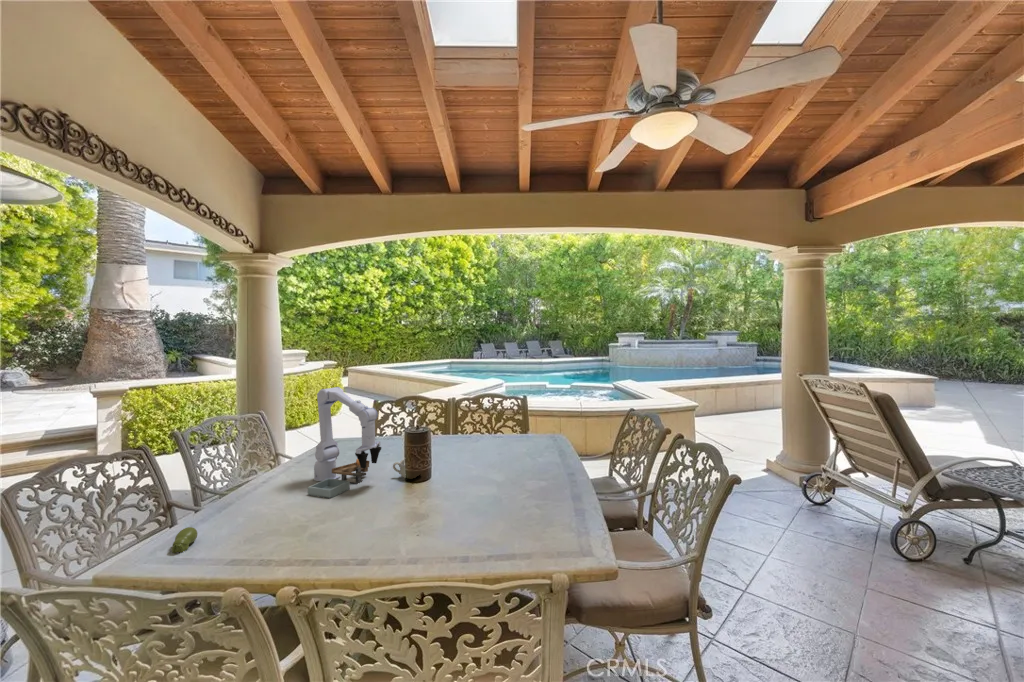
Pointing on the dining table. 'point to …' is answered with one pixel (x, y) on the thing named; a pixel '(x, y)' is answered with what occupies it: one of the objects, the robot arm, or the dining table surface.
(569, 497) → the dining table surface
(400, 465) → the teacup
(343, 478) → the stand
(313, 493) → the tray
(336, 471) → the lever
